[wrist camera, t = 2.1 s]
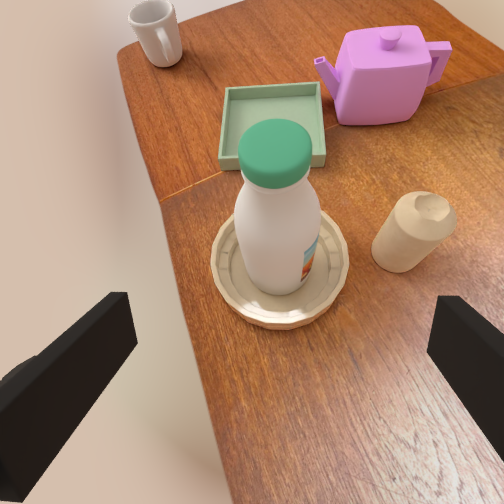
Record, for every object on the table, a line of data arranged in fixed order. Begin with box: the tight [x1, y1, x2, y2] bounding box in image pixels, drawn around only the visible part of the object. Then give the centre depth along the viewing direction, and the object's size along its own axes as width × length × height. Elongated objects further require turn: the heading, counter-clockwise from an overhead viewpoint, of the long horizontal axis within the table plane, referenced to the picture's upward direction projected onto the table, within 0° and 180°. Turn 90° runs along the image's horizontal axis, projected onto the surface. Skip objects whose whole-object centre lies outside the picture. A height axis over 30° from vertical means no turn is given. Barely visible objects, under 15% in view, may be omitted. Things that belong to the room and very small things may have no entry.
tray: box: [218, 82, 326, 170], centre depth 44 cm, size 15×15×2 cm
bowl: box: [210, 210, 349, 330], centre depth 34 cm, size 15×15×4 cm
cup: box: [128, 0, 182, 67], centre depth 52 cm, size 11×8×8 cm
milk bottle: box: [234, 118, 321, 295], centre depth 26 cm, size 8×8×20 cm
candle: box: [371, 191, 457, 273], centre depth 31 cm, size 6×6×10 cm
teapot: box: [314, 25, 452, 125], centre depth 41 cm, size 18×10×10 cm, turn 89°
